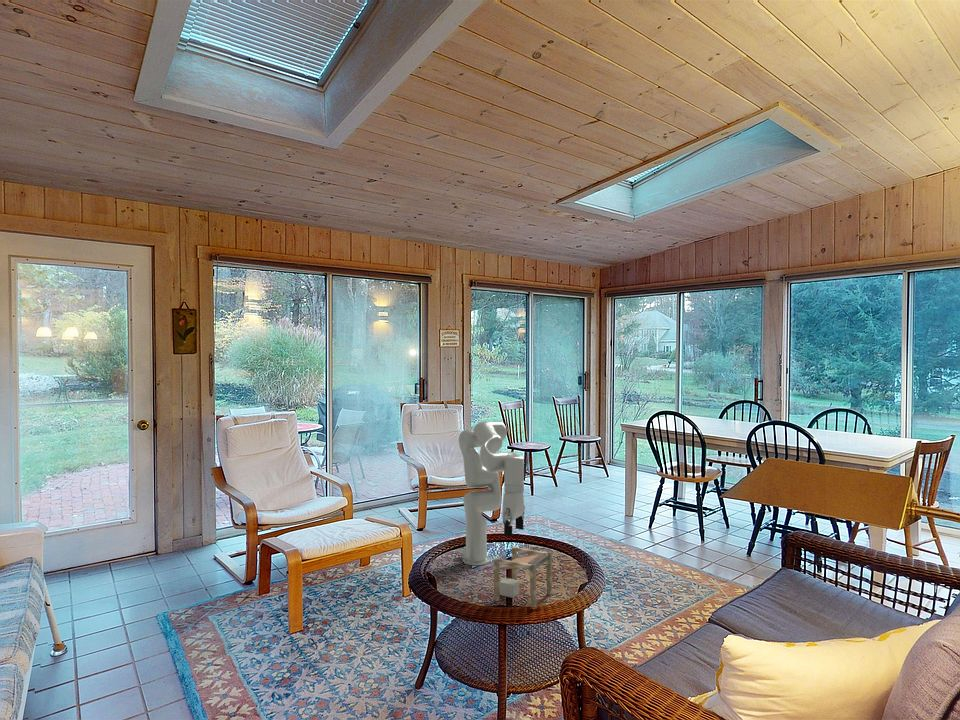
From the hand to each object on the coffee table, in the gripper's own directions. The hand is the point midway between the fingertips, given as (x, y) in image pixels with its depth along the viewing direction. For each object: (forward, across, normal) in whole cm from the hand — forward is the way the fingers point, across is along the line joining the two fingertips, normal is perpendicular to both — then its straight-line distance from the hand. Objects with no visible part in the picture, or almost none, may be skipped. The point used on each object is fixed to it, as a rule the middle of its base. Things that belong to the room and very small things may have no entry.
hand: (513, 532), depth 205 cm
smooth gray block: (+21, +1, +1) cm, 21 cm away
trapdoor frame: (+24, +1, +4) cm, 24 cm away
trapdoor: (+11, +1, +5) cm, 12 cm away
